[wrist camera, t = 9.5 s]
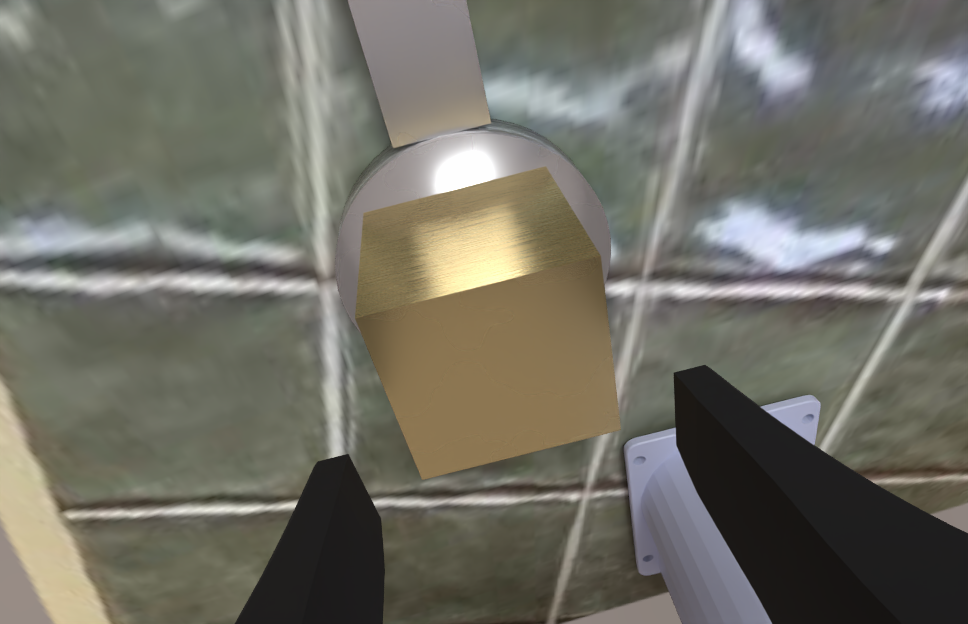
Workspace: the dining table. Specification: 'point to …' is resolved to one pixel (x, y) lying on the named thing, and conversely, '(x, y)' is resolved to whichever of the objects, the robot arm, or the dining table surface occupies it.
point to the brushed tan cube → (487, 322)
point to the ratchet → (441, 126)
